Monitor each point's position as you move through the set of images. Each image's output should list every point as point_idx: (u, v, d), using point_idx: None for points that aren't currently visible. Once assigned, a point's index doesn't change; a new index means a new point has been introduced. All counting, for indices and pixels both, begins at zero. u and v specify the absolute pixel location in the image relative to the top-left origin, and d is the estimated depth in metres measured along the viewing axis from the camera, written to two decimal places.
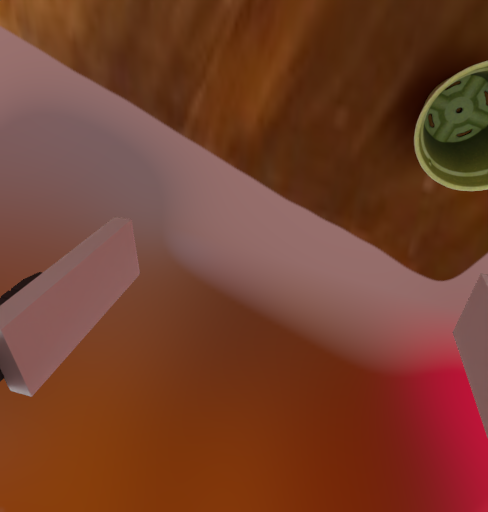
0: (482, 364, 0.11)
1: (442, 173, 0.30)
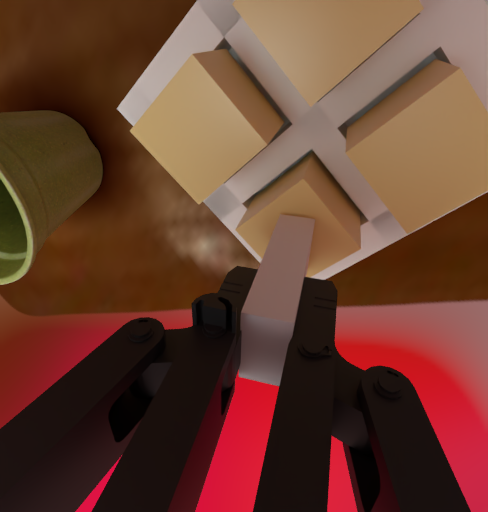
0: None
1: None
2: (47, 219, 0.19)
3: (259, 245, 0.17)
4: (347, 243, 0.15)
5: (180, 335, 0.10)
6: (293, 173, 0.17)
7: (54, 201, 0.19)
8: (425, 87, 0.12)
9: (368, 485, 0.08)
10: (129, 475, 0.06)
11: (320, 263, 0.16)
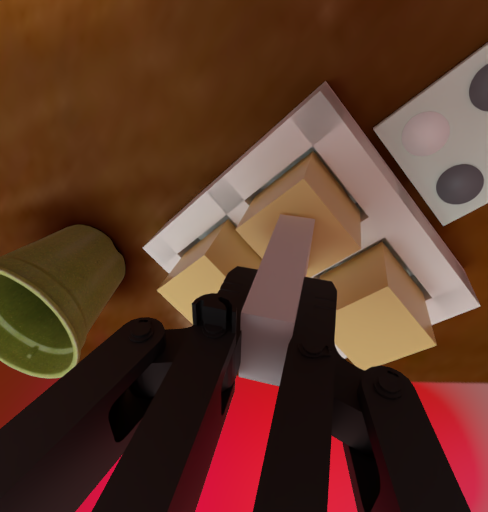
0: None
1: None
2: (86, 329, 0.24)
3: None
4: None
5: (180, 335, 0.10)
6: None
7: (91, 314, 0.24)
8: (368, 285, 0.17)
9: (368, 485, 0.08)
10: (129, 475, 0.06)
11: None
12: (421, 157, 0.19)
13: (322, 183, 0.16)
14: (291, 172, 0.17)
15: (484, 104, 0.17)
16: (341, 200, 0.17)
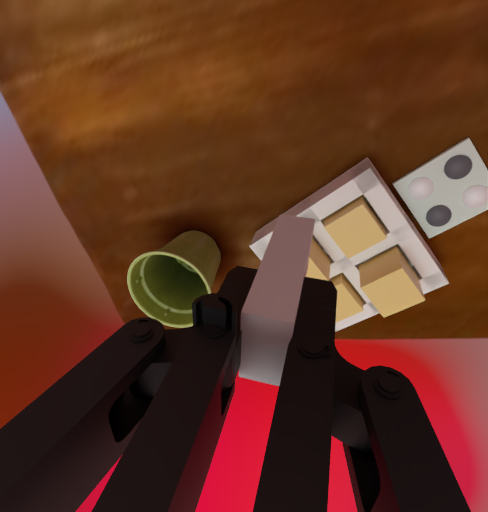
0: None
1: (142, 291, 0.39)
2: None
3: None
4: (357, 308, 0.36)
5: (180, 335, 0.10)
6: None
7: None
8: (390, 268, 0.32)
9: (368, 485, 0.08)
10: (129, 475, 0.06)
11: (345, 315, 0.37)
12: (418, 200, 0.34)
13: (368, 206, 0.33)
14: None
15: (451, 175, 0.32)
16: (375, 214, 0.34)
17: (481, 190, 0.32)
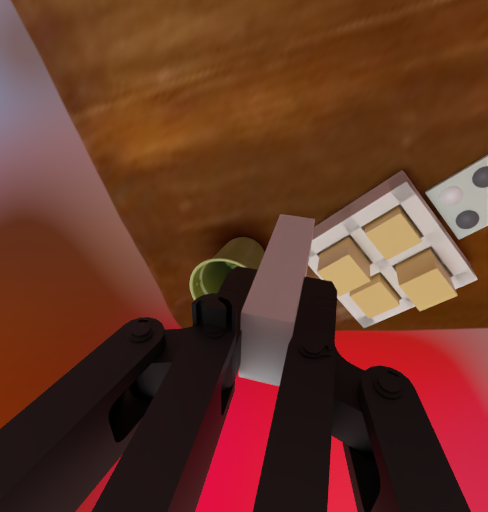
0: None
1: (201, 292, 0.45)
2: None
3: (358, 302, 0.42)
4: (394, 303, 0.41)
5: (180, 335, 0.10)
6: None
7: None
8: (426, 268, 0.36)
9: (368, 485, 0.08)
10: (129, 475, 0.06)
11: (383, 309, 0.42)
12: (448, 206, 0.38)
13: (404, 213, 0.37)
14: None
15: (479, 184, 0.36)
16: (410, 220, 0.38)
17: None
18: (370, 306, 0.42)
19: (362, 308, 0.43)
